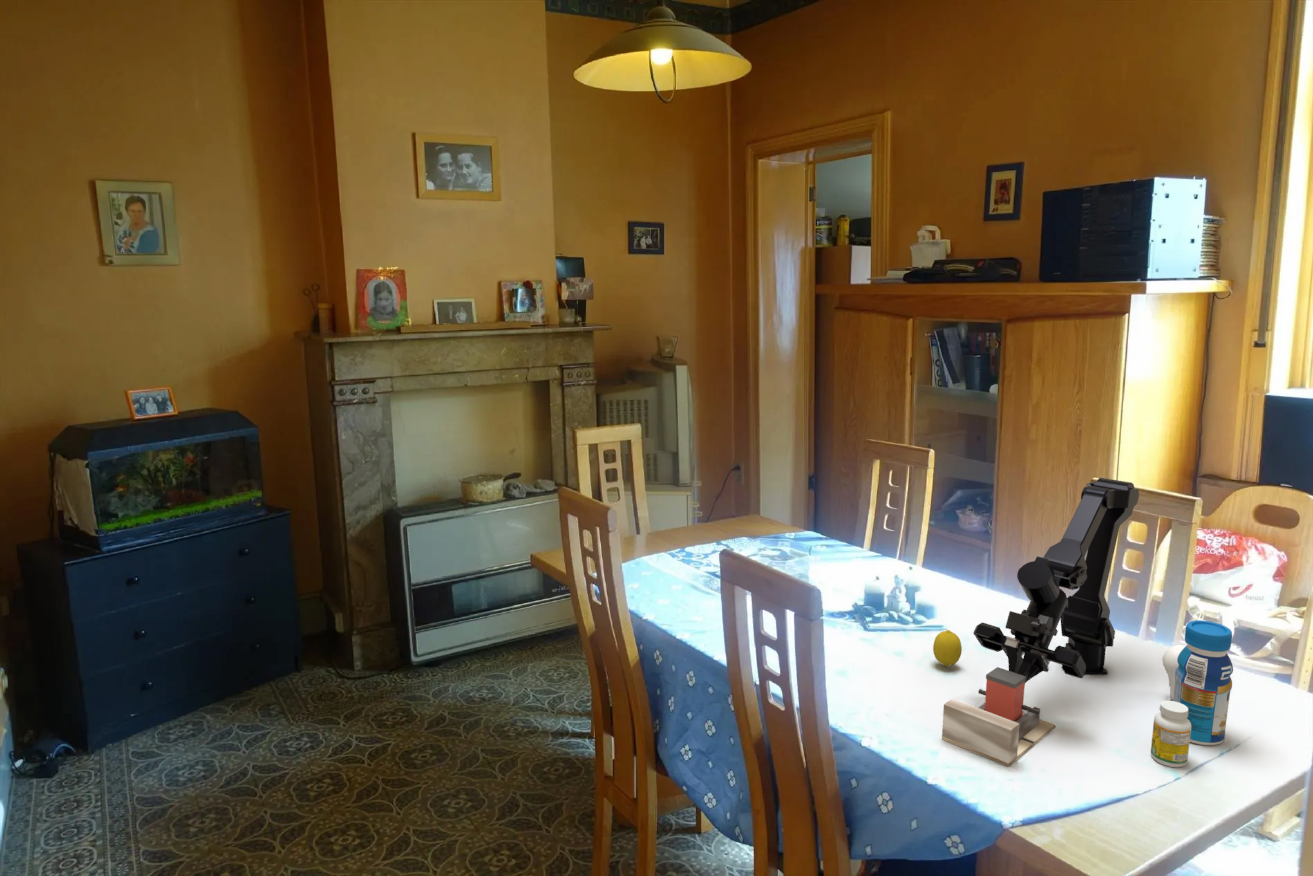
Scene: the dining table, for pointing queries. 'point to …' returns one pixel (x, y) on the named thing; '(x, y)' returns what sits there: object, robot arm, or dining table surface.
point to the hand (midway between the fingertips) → (1010, 691)
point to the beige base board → (992, 731)
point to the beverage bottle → (1205, 680)
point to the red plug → (1005, 694)
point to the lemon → (947, 648)
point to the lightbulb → (1172, 664)
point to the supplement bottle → (1171, 734)
